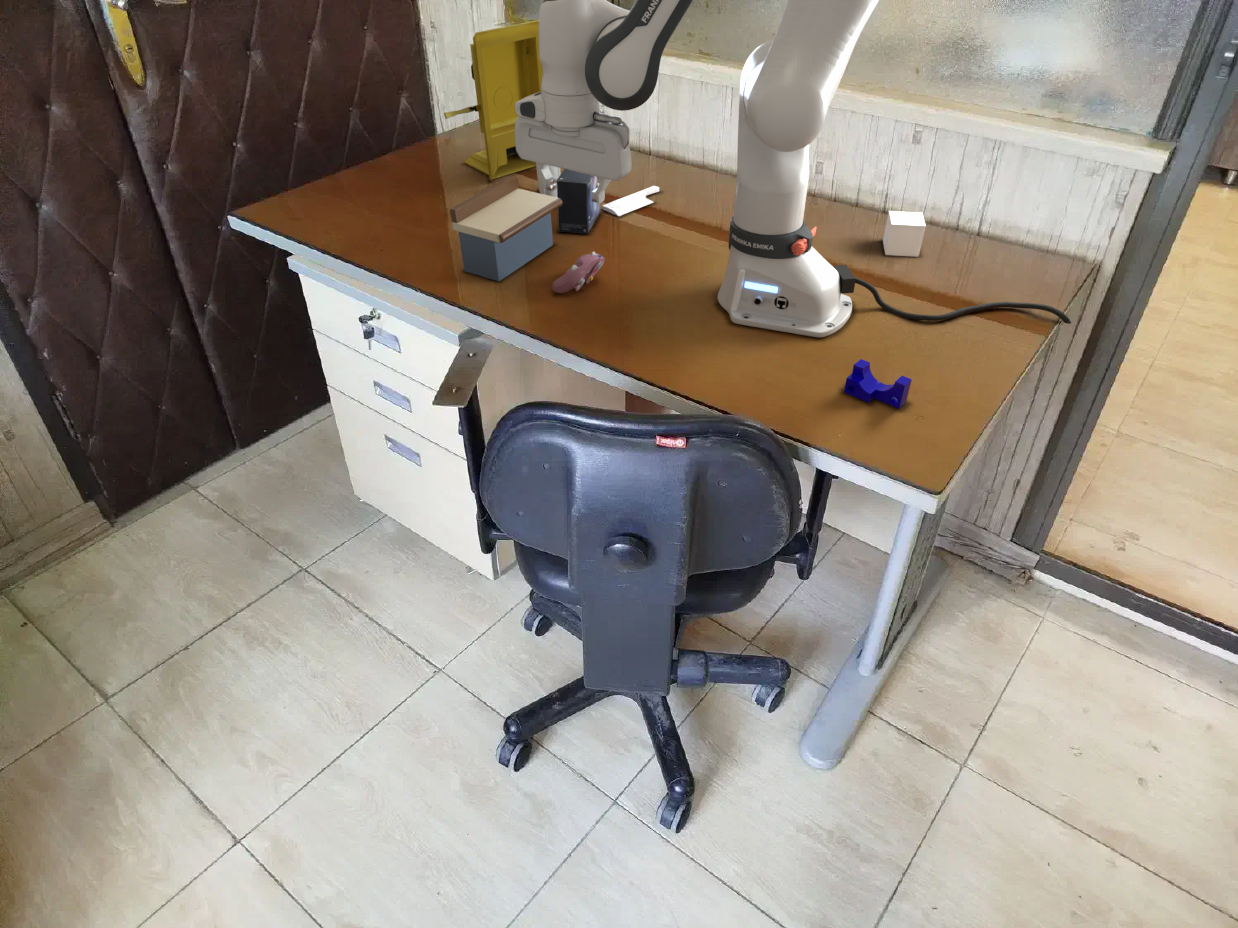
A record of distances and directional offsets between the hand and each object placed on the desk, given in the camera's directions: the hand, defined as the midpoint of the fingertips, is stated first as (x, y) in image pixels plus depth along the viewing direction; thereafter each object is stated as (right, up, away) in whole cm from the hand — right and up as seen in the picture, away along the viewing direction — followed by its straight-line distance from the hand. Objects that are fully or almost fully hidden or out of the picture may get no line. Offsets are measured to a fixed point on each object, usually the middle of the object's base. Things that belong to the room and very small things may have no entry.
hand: (574, 195), depth 136 cm
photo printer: (-7, +13, +41) cm, 44 cm away
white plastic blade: (+11, +11, +38) cm, 41 cm away
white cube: (+60, -4, +20) cm, 64 cm away
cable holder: (+44, -35, -16) cm, 59 cm away
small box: (0, +4, +31) cm, 31 cm away
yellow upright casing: (-17, +26, +57) cm, 65 cm away
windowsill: (-13, -6, +19) cm, 24 cm away
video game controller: (+1, -13, +11) cm, 17 cm away
